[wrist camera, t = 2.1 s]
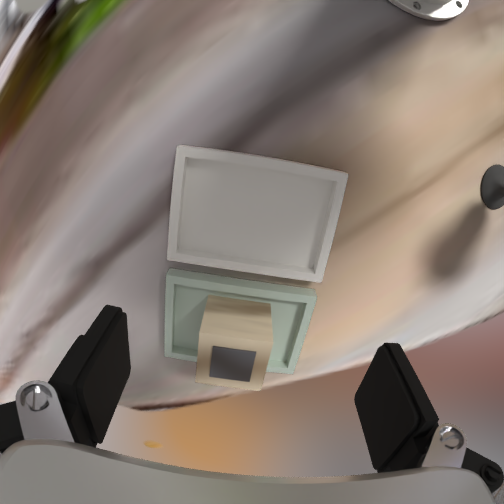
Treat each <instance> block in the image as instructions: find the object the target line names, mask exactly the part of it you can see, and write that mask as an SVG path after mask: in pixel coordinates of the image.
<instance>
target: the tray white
mask: <svg viewBox="0 0 504 504" xmlns="http://www.w3.org/2000/svg"><path fill="white" fill-rule="evenodd" d="M348 175H349V174H347V173H345V172H344V171H339V170H334V169H330V168H325V167H320V166H315V165H310V164H305V163H300V162H295V161H289V160H284V159H278V158H272V157H267V156H261V155H254V154H248V153H241V152H234V151H227V150H220V149H213V148H205V147H196V146H188V145H179V146H177V148H176V157H175V166H174V175H173V185H172V195H171V206H170V218H169V232H168V247H167V260H170V261H177V262H183V263H189V264H196V265H202V266H209V267H215V268H222V269H228V270H235V271H242V272H248V273H255V274H262V275H269V276H276V277H283V278H290V279H297V280H304V281H311V282H319V283H321V282H322V279H323V275H324V272H325V268H326V264H327V261H328V257H329V253H330V249H331V246H332V242H333V238H334V234H335V230H336V226H337V222H338V218H339V214H340V210H341V206H342V201H343V197H344V193H345V188H346V184H347V179H348Z"/></svg>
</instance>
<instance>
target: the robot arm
mask: <svg viewBox="0 0 504 504" xmlns="http://www.w3.org/2000/svg"><path fill="white" fill-rule="evenodd" d="M388 1H390V2H391V3H392V4H394V5H396V6H397V7H399V8H400V9H402V10H404V11H406V12H408V13H410V14H412V15H414V16H417V17H421V18H424V19H428V20H435V21H439V20H447V19H450V18H453V17H455V16H458V15H460V14H461V13H462V12H463V11H464V10H465V9H466V7H467V5H468V3H469V0H388ZM130 370H131V365H130V354H129V342H128V329H127V315H126V313H124V312H122V308H120V307H115V306H110V305H106V306H105V307H104V308H103V309H102V311H101V312H100V314H99V315H98V316H97V318H96V319H95V321H94V322H93V324H92V325H91V327H90V328H89V329H88V331H87V332H86V334H85V335H80V336H79V337H78V338H77V339H76V341H75V342H74V344H73V345H72V346H71V348H70V349H69V351H68V352H67V354H66V355H65V357H64V358H63V360H62V361H61V363H60V364H59V366H58V367H57V369H56V371H55V372H54V374H53V375H52V377H51V378H50V380H49V381H48V383H46V382H44V381H31V382H28V383H25V384H24V385H22V386H21V387H20V388H19V390H18V391H17V394H16V401H13V402H9V403H6V404H2V405H0V504H504V482H503V481H504V475H503V472H502V469H501V468H500V466H499V465H498V464H496V463H495V462H493V461H491V460H489V459H487V458H485V457H483V456H482V455H480V454H478V453H476V452H474V451H472V450H470V449H468V448H467V438H466V435H465V434H464V432H463V431H462V430H461V429H460V428H459V427H457V426H456V425H453V424H449V423H445V424H441V425H440V426H439V425H438V420H439V418H438V416H437V414H436V412H435V411H434V408H433V406H432V404H431V402H430V400H429V398H428V396H427V394H426V392H425V390H424V388H423V387H422V385H421V383H420V381H419V379H418V377H417V375H416V373H415V371H414V370H413V368H412V366H411V364H410V362H409V360H408V358H407V357H406V355H405V353H404V351H403V349H402V348H401V346H400V344H398V343H384V344H383V345H382V346H380V347H379V348H378V350H377V352H376V354H375V356H374V358H373V360H372V362H371V364H370V366H369V368H368V370H367V372H366V374H365V376H364V379H363V380H362V382H361V384H360V386H359V388H358V390H357V392H356V394H355V399H354V400H355V405H356V408H357V412H358V415H359V419H360V422H361V425H362V429H363V432H364V436H365V439H366V443H367V446H368V450H369V454H370V457H371V461H372V465H373V467H374V469H375V470H377V472H378V473H373V474H363V475H351V476H335V477H264V476H250V475H249V476H248V475H238V474H227V473H218V472H210V471H202V470H196V469H189V468H183V467H177V466H172V465H167V464H162V463H157V462H152V461H148V460H143V459H138V458H134V457H130V456H126V455H122V454H118V453H114V452H110V451H107V450H103V449H99V448H96V445H97V443H99V444H101V443H102V442H103V439H104V437H105V435H106V432H107V429H108V427H109V424H110V422H111V419H112V417H113V414H114V412H115V409H116V407H117V404H118V402H119V399H120V397H121V394H122V392H123V390H124V387H125V385H126V382H127V380H128V378H129V375H130Z"/></svg>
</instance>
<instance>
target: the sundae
mask: <svg viewBox="0 0 504 504" xmlns="http://www.w3.org/2000/svg"><path fill="white" fill-rule="evenodd" d="M481 193H482V198H483V201H484V203H485V204H486V205H487V207H489V208H491V209H498V208H500V207H502V206H503V205H504V167H503V166H501V165H493V166H492V167H490V168H489V169H488V170H487V172H486V173H485V175H484V177H483V180H482V187H481Z"/></svg>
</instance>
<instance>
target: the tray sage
mask: <svg viewBox="0 0 504 504" xmlns="http://www.w3.org/2000/svg"><path fill="white" fill-rule="evenodd" d="M208 295H214V296H221V297H228V298H234V299H241V300H248V301H255V302H263V303H270V304H271V316H272V329H273V346H272V350H271V354H270V358H269V361H268V365H267V369H266V372H276V373H286V374H293V372H294V370H295V367H296V364H297V361H298V358H299V355H300V351H301V348H302V345H303V342H304V339H305V336H306V333H307V329H308V326H309V323H310V320H311V316H312V313H313V310H314V306H315V303H316V300H317V295H316V292H315V289H310V288H303V287H295V286H288V285H281V284H274V283H267V282H260V281H253V280H246V279H239V278H232V277H226V276H219V275H212V274H206V273H200V272H193V271H187V270H181V269H174V268H169V270H168V272H167V274H166V288H165V330H164V356H165V357H170V358H175V359H181V360H187V361H193V362H197V354H198V342H199V332H200V327H201V323H202V319H203V315H204V311H205V307H206V303H207V299H208Z"/></svg>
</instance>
